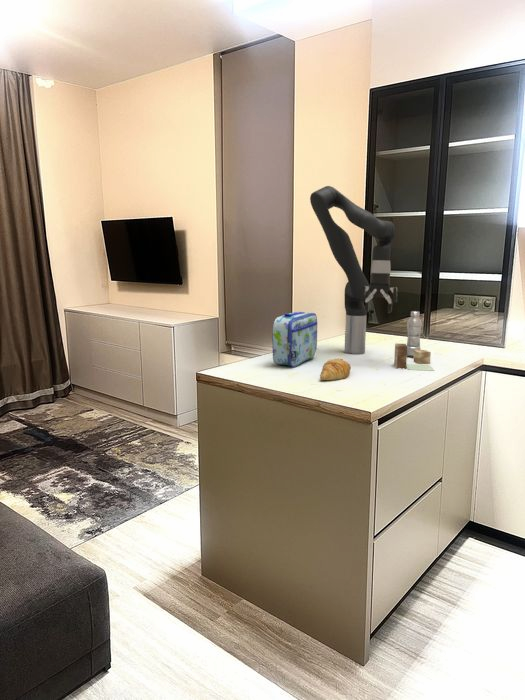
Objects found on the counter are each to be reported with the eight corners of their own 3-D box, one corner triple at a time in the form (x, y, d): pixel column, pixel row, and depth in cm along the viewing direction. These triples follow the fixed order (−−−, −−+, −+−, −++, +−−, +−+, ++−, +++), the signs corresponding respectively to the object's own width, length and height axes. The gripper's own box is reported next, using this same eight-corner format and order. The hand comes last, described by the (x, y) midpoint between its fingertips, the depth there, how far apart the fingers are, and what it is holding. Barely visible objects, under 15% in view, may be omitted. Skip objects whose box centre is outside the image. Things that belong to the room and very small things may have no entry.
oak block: (418, 364, 215) (419, 352, 214) (413, 361, 220) (414, 350, 219) (429, 363, 215) (430, 352, 215) (424, 361, 220) (425, 349, 219)
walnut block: (395, 368, 207) (396, 346, 205) (394, 365, 212) (395, 343, 211) (406, 368, 206) (407, 346, 204) (404, 365, 212) (405, 343, 210)
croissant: (328, 392, 184) (338, 374, 180) (306, 376, 188) (316, 358, 184) (353, 379, 201) (363, 363, 197) (333, 364, 205) (342, 348, 201)
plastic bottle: (421, 356, 231) (424, 311, 227) (419, 358, 225) (421, 312, 221) (406, 354, 234) (409, 310, 230) (403, 357, 228) (406, 311, 224)
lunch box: (292, 369, 203) (293, 316, 199) (268, 366, 208) (269, 314, 204) (319, 358, 225) (321, 310, 221) (297, 355, 231) (298, 308, 227)
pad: (407, 369, 204) (408, 369, 204) (404, 364, 214) (404, 363, 214) (434, 370, 203) (434, 370, 203) (429, 365, 212) (429, 364, 212)
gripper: (360, 271, 208) (358, 312, 211) (396, 272, 202) (394, 314, 205) (365, 271, 214) (363, 310, 218) (400, 272, 209) (397, 312, 212)
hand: (378, 312), depth 211 cm, fingers open, 8 cm apart
